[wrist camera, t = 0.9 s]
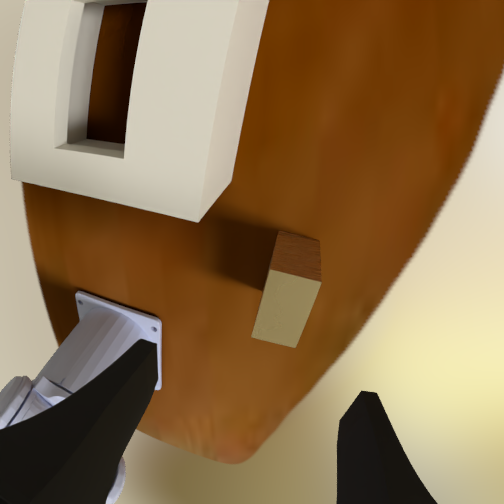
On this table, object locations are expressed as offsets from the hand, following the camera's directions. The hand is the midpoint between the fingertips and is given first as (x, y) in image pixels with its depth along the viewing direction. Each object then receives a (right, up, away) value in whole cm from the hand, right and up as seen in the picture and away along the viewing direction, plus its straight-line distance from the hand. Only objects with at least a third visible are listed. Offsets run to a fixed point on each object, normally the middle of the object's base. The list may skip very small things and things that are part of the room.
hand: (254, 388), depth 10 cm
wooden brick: (+2, +4, +10) cm, 10 cm away
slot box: (-6, +15, +5) cm, 16 cm away
